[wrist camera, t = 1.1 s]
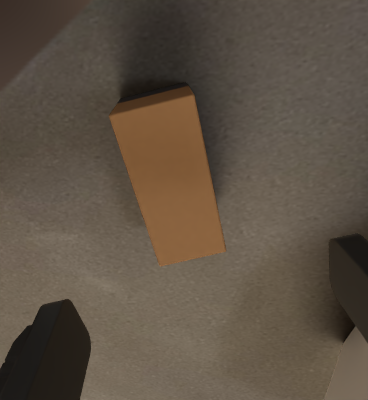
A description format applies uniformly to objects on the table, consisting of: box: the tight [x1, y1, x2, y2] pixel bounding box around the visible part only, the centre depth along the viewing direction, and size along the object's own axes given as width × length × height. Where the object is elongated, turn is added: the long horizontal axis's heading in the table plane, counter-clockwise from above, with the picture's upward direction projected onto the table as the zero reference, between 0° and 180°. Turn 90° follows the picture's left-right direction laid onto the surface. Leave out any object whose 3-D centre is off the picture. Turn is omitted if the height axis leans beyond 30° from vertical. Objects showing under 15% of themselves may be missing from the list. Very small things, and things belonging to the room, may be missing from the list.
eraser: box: [109, 82, 226, 266], centre depth 18 cm, size 4×9×4 cm, turn 13°
